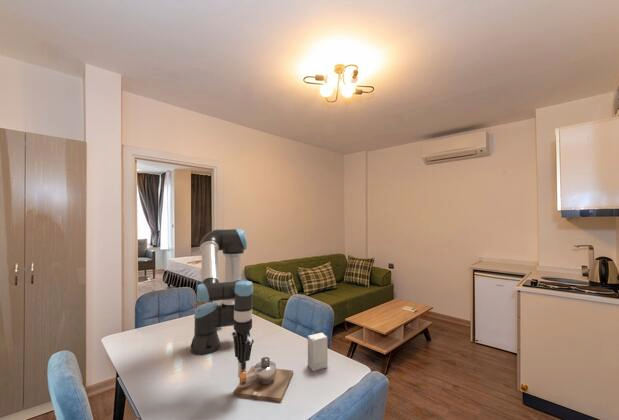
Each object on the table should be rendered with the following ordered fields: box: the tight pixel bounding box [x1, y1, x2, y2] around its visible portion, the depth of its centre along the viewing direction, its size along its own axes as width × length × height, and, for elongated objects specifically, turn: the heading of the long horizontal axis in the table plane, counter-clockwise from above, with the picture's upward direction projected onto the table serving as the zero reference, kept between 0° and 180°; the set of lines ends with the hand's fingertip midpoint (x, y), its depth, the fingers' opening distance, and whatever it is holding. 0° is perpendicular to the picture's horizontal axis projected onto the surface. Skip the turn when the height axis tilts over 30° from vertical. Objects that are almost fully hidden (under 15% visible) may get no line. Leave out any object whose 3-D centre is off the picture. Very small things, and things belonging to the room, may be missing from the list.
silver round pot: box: [239, 356, 277, 385], centre depth 116 cm, size 16×9×7 cm, turn 124°
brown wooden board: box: [232, 365, 294, 403], centre depth 118 cm, size 20×20×3 cm
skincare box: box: [307, 332, 329, 372], centre depth 132 cm, size 8×6×15 cm
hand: (241, 376), depth 114 cm, fingers closed
